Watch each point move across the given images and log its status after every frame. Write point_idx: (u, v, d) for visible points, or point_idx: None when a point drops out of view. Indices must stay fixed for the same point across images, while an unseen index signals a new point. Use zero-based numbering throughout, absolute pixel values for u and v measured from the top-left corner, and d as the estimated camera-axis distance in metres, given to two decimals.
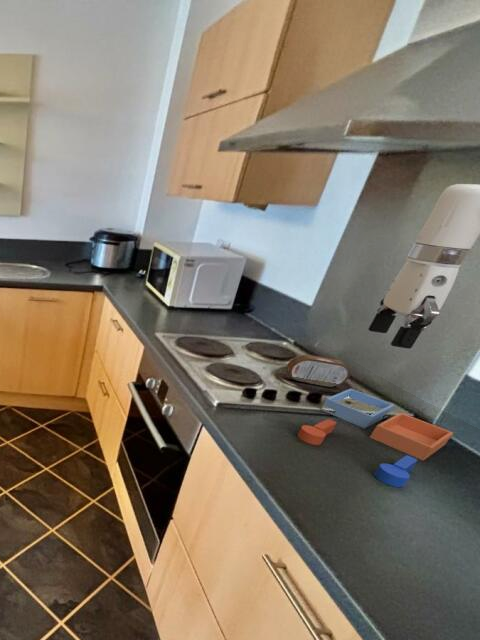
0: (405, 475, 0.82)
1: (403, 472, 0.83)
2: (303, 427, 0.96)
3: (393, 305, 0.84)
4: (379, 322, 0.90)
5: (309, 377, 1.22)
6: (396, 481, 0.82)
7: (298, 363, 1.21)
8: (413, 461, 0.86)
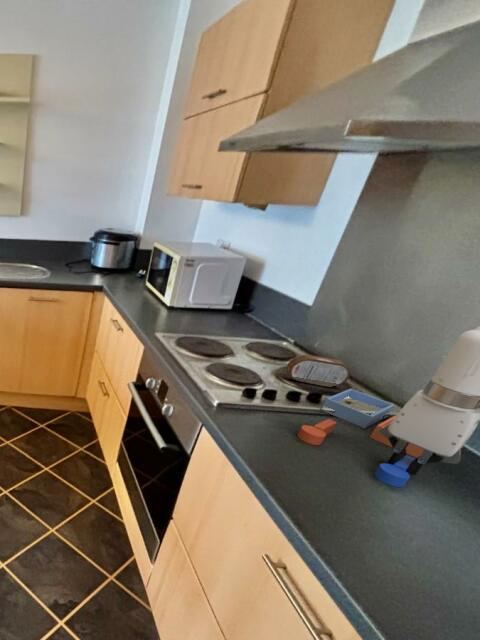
0: (405, 475, 0.82)
1: (403, 472, 0.83)
2: (303, 427, 0.96)
3: (419, 442, 0.82)
4: None
5: (309, 377, 1.22)
6: (396, 481, 0.82)
7: (298, 363, 1.21)
8: None
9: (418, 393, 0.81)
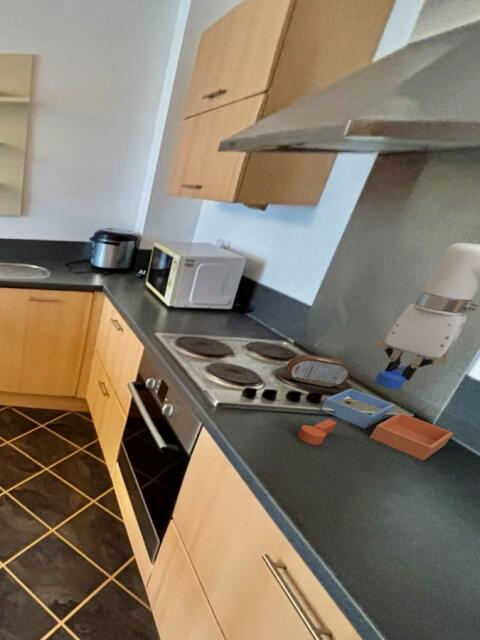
0: (402, 378, 0.94)
1: (400, 376, 0.95)
2: (303, 427, 0.96)
3: (412, 348, 0.93)
4: None
5: (309, 377, 1.22)
6: (394, 383, 0.94)
7: (298, 363, 1.21)
8: None
9: (411, 305, 0.92)
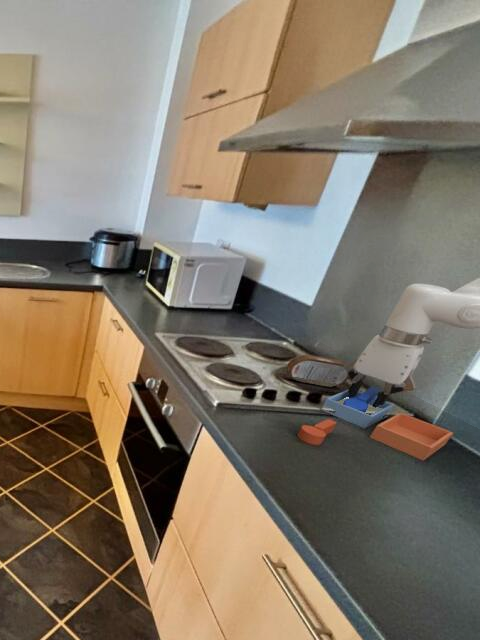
0: (364, 406, 1.05)
1: (363, 404, 1.06)
2: (303, 427, 0.96)
3: (376, 375, 1.04)
4: (356, 390, 1.09)
5: (309, 377, 1.22)
6: None
7: (298, 363, 1.21)
8: (375, 391, 1.08)
9: (376, 336, 1.03)
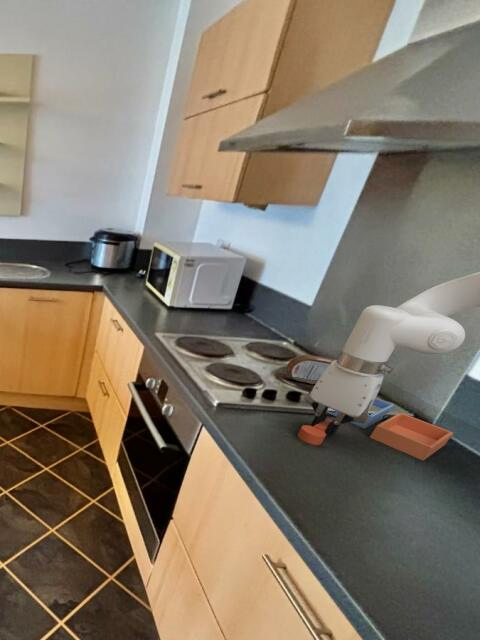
0: None
1: None
2: (303, 427, 0.96)
3: (333, 405, 0.94)
4: None
5: (309, 377, 1.22)
6: None
7: (298, 363, 1.21)
8: None
9: (332, 362, 0.93)
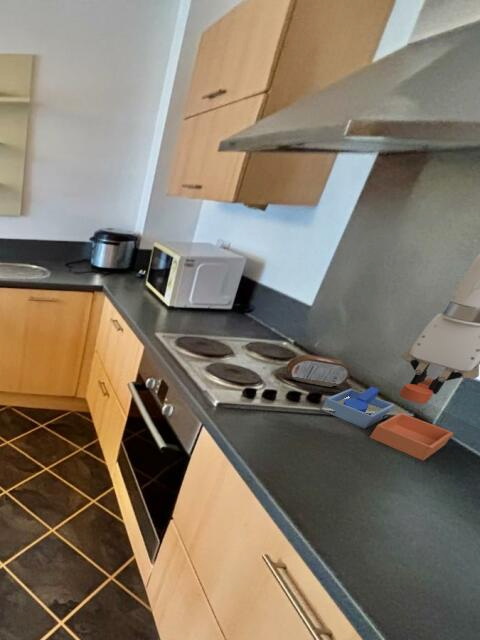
0: (364, 406, 1.05)
1: (363, 404, 1.06)
2: (406, 385, 0.91)
3: (439, 361, 0.88)
4: None
5: (309, 377, 1.22)
6: None
7: (298, 363, 1.21)
8: (375, 391, 1.08)
9: (438, 315, 0.88)
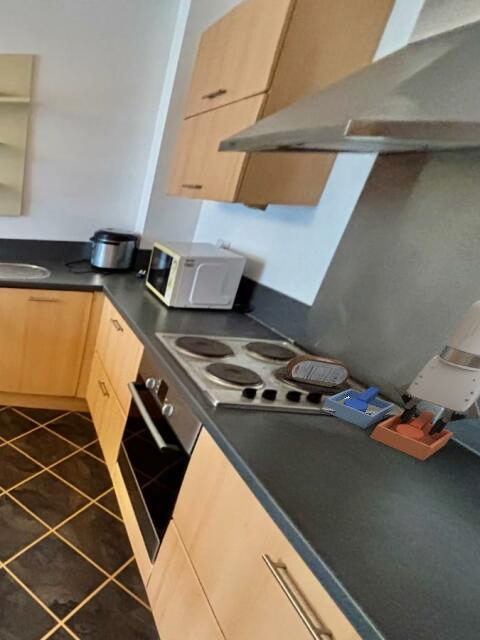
0: (364, 406, 1.05)
1: (363, 404, 1.06)
2: (398, 428, 0.97)
3: (435, 400, 0.93)
4: (410, 416, 0.98)
5: (309, 377, 1.22)
6: None
7: (298, 363, 1.21)
8: (375, 391, 1.08)
9: (435, 357, 0.92)
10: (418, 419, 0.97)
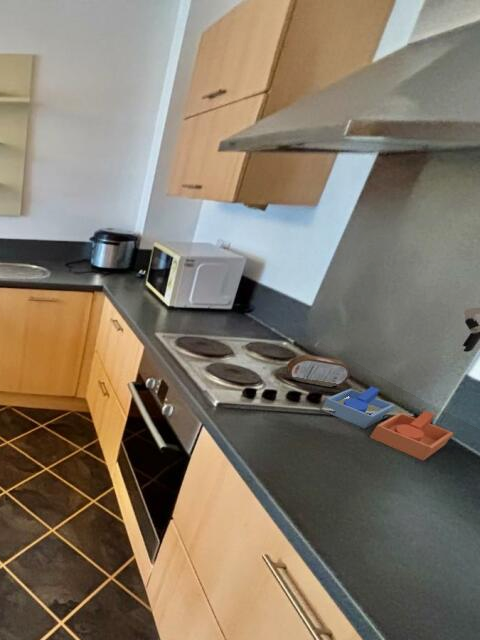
0: (364, 406, 1.05)
1: (363, 404, 1.06)
2: (398, 428, 0.97)
3: None
4: (475, 342, 0.89)
5: (309, 377, 1.22)
6: None
7: (298, 363, 1.21)
8: (375, 391, 1.08)
9: None
10: (418, 419, 0.97)
